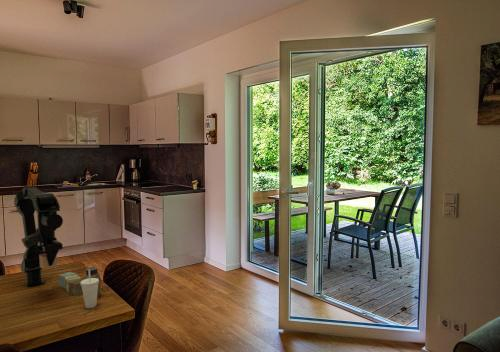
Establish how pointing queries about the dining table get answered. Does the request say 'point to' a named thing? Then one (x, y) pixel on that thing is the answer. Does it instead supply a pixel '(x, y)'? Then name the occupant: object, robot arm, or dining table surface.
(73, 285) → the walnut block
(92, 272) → the supplement bottle
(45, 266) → the terracotta block
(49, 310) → the dining table surface
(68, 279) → the maple block
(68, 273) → the slate block
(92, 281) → the smoothie
